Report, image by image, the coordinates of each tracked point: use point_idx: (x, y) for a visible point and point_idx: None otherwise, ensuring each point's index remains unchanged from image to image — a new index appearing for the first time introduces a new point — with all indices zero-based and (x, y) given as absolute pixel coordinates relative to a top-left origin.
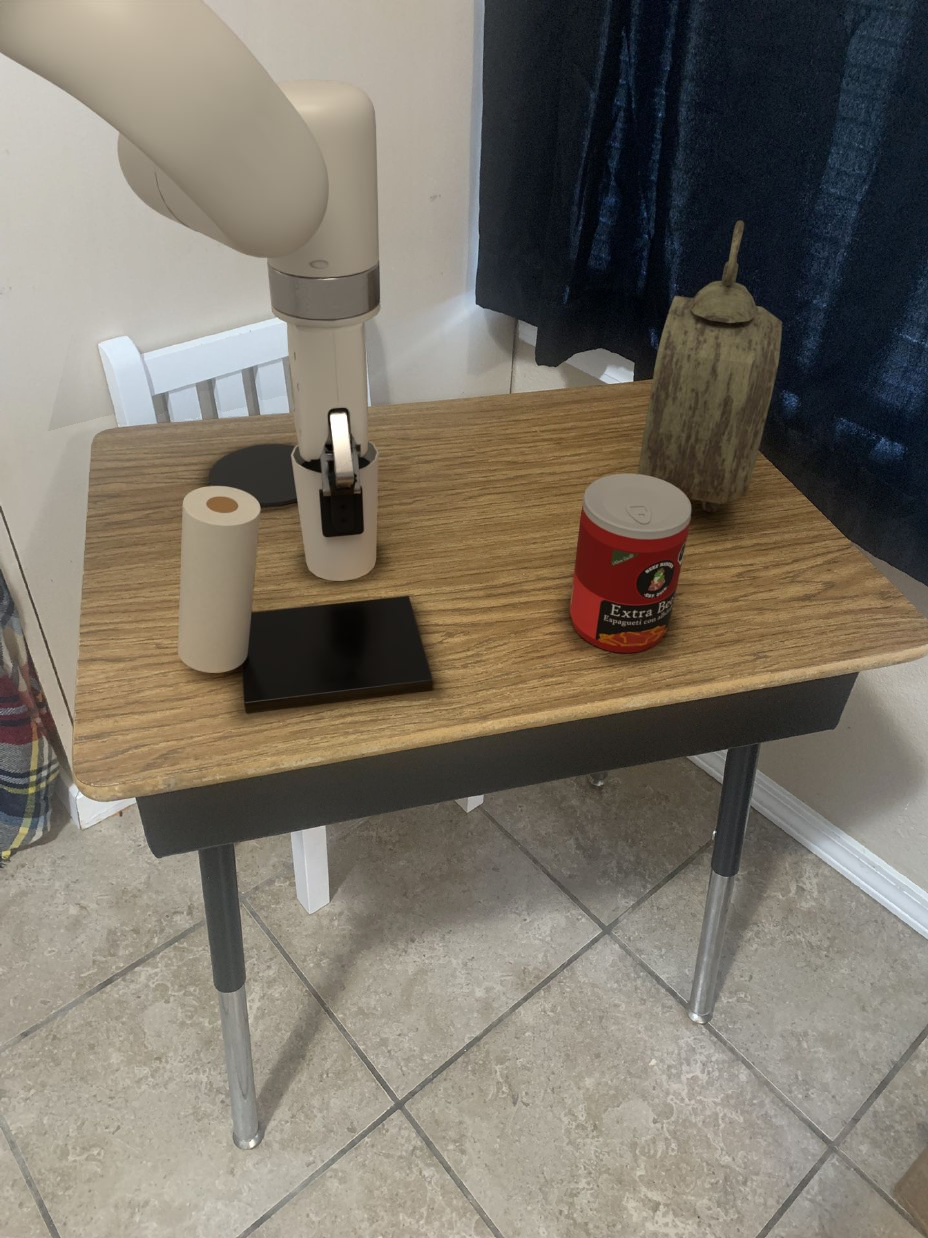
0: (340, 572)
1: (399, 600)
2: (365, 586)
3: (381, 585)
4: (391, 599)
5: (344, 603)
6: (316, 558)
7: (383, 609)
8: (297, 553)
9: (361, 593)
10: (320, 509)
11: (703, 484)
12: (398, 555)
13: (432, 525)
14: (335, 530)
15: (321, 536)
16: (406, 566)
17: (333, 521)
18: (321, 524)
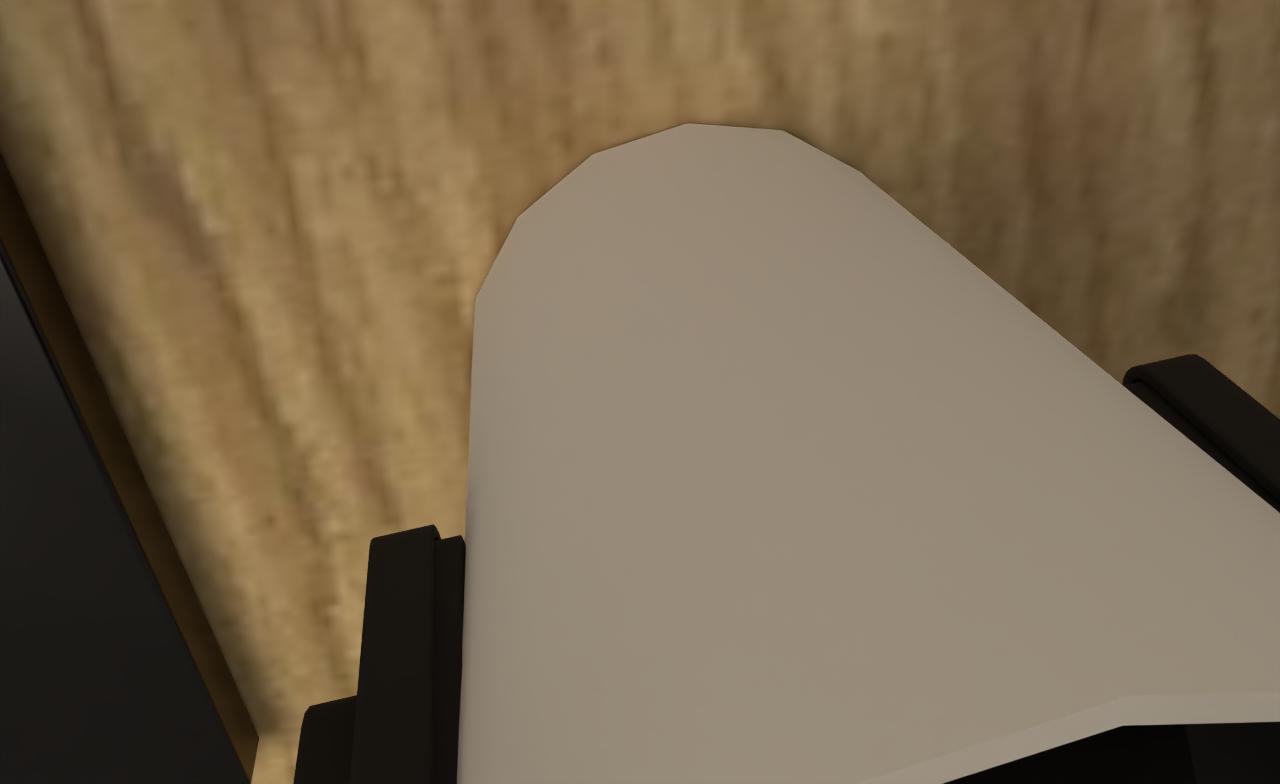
0: (470, 408)
1: (189, 756)
2: (428, 512)
3: None
4: (194, 717)
5: (92, 483)
6: (512, 289)
7: (82, 691)
8: (808, 43)
9: (352, 499)
10: (403, 704)
11: None
12: None
13: None
14: (310, 707)
15: (478, 461)
16: None
17: (298, 772)
18: (427, 571)
